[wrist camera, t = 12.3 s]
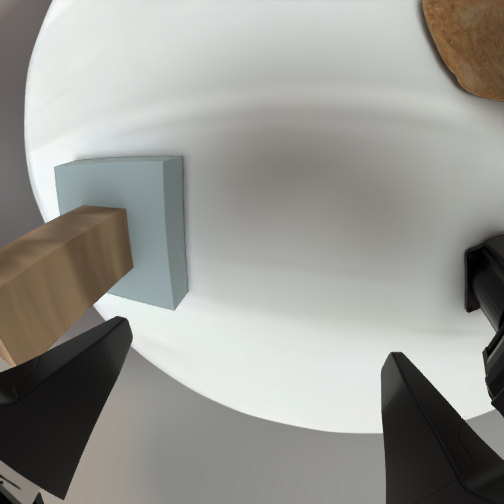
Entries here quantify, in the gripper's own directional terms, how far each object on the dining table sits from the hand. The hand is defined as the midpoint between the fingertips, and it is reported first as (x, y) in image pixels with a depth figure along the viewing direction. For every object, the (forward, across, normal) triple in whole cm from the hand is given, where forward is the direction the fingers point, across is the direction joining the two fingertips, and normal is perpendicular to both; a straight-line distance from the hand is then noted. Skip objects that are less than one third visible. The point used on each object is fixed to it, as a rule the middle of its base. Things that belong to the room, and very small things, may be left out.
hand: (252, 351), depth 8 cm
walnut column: (+11, +14, +2) cm, 17 cm away
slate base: (+14, +14, +2) cm, 19 cm away
